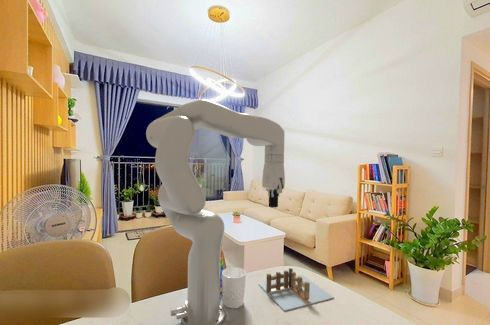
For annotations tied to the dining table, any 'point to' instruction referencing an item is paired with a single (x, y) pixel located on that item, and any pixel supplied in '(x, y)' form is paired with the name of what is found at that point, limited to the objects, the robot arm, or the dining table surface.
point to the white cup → (233, 287)
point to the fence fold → (300, 285)
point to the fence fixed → (279, 280)
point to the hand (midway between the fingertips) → (273, 206)
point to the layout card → (296, 295)
